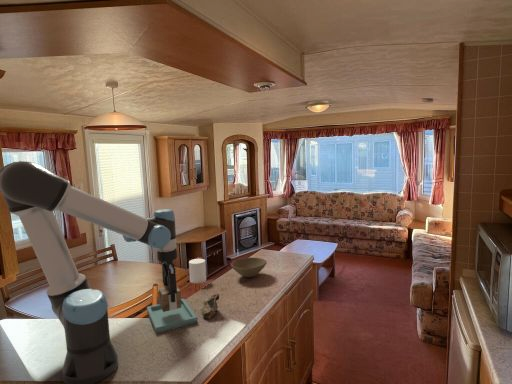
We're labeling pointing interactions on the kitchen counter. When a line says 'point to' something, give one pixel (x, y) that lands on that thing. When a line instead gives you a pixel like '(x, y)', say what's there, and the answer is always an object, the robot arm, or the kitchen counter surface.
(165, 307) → the walnut cube
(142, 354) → the kitchen counter surface
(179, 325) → the tray
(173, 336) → the kitchen counter surface
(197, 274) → the mug
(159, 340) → the kitchen counter surface
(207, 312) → the rock
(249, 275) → the bowl
